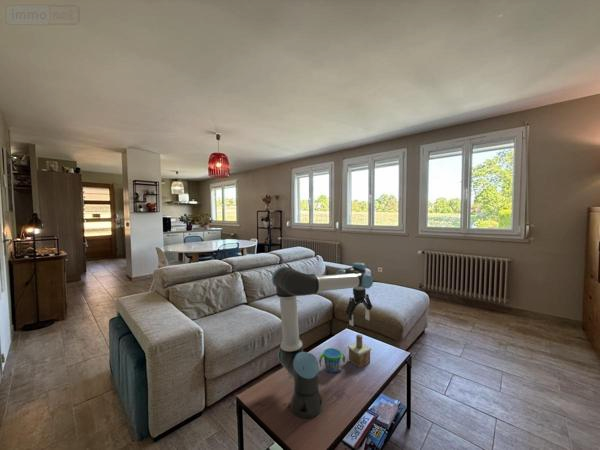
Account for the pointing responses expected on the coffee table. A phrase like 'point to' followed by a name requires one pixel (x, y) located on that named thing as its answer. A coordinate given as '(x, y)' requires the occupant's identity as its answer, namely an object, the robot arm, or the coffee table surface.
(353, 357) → the box
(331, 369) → the snack cup
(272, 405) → the coffee table surface
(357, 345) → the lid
